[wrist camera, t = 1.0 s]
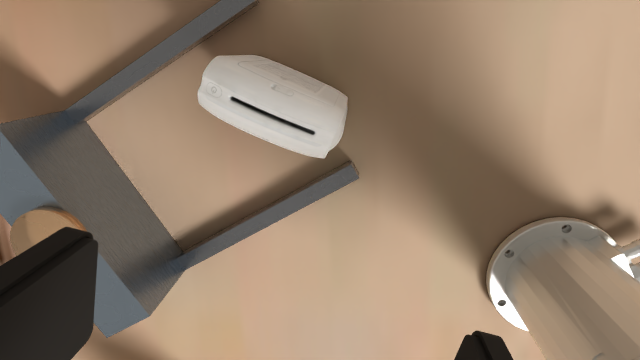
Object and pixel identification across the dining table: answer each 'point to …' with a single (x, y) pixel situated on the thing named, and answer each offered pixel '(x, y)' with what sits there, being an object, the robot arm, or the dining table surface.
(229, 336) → the dining table surface
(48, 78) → the dining table surface
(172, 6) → the dining table surface
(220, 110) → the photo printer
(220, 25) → the motor mount
